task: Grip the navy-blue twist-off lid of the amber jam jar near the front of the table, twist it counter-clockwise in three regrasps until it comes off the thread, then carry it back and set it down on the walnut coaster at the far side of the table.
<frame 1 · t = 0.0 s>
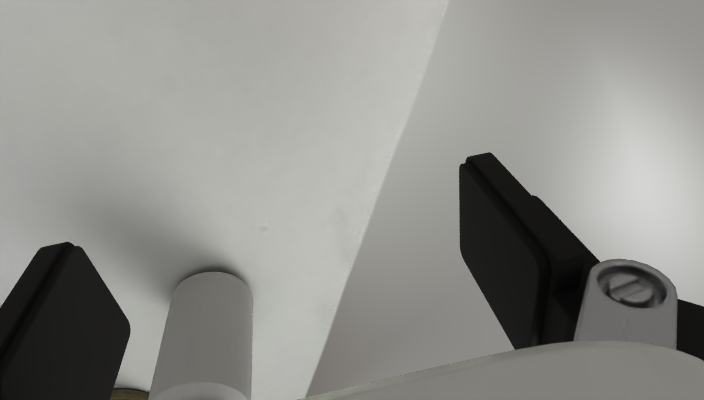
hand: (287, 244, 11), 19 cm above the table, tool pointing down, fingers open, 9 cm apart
beverage can: (214, 292, 37), on the table
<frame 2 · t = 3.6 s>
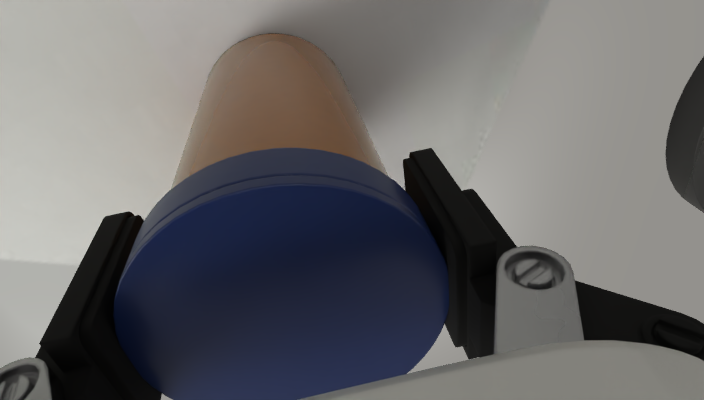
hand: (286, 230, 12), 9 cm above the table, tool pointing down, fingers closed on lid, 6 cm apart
jar: (278, 106, 19), on the table
lid: (292, 314, 9), point 12 cm above the table, screwed on, not yet turned, touching gripper
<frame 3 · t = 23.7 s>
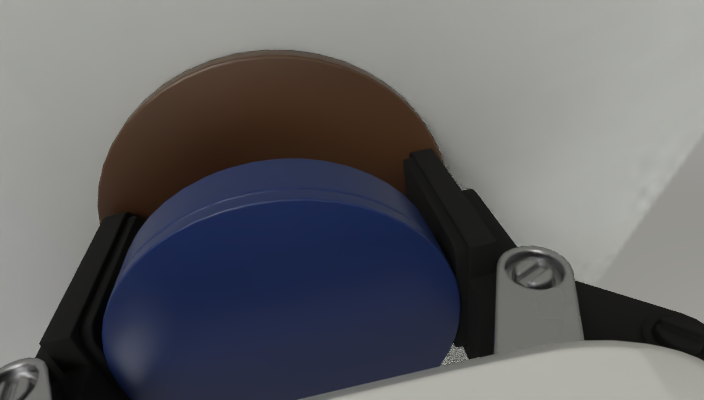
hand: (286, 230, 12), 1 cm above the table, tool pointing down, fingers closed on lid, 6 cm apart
coaster: (284, 216, 12), on the table
lid: (293, 333, 9), point 4 cm above the table, off its thread, touching gripper
when the fingers open (1 cm above the table, at t = 31.6 s): lid drops 3 cm, resting on coaster.
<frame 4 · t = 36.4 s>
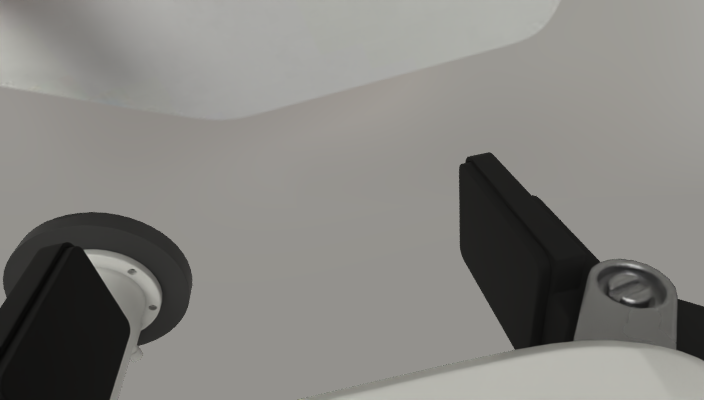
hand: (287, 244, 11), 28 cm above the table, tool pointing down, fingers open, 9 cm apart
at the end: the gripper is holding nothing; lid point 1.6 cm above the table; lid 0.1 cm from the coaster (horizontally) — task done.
